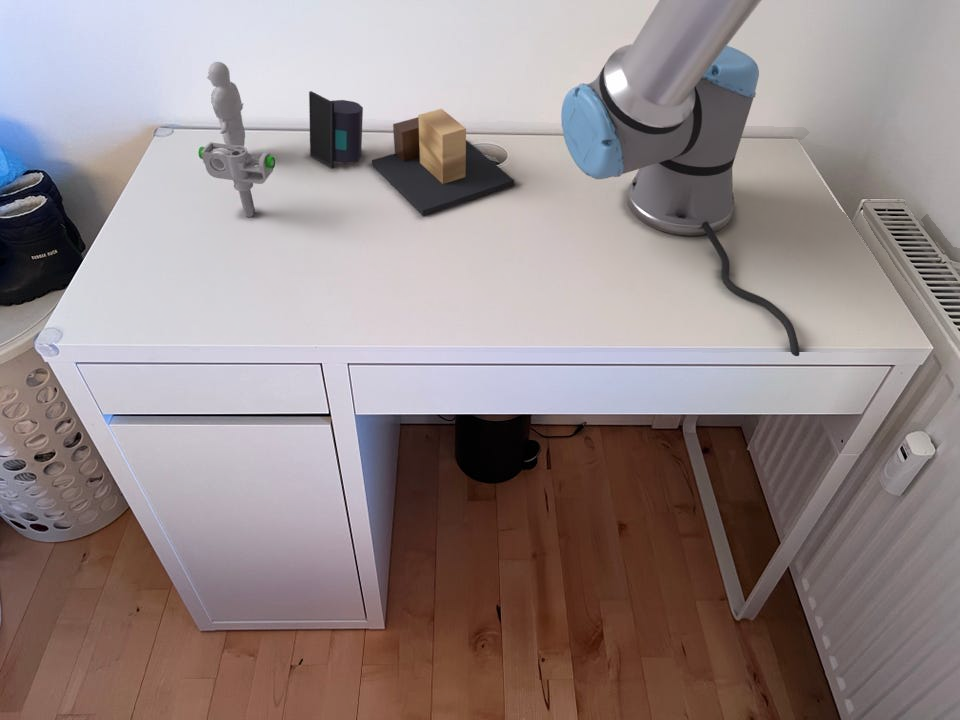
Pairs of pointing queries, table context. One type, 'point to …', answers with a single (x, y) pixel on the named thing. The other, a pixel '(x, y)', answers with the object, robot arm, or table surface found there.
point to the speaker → (335, 130)
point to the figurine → (227, 104)
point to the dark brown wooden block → (407, 139)
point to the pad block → (442, 145)
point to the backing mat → (430, 191)
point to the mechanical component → (237, 169)
